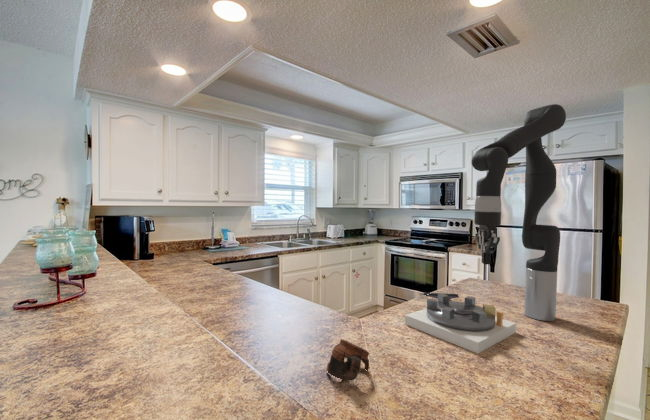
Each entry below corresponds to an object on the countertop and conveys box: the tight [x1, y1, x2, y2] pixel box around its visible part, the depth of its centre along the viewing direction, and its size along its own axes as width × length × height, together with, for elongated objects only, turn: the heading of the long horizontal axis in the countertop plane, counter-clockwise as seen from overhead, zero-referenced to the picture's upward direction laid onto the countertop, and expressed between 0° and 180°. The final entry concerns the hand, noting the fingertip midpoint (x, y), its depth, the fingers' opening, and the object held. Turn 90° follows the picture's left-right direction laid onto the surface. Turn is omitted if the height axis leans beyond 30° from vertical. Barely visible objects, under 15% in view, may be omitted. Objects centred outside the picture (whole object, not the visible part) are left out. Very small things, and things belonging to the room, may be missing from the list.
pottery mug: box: [326, 339, 370, 381], centre depth 70 cm, size 12×10×8 cm
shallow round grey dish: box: [426, 293, 497, 331], centre depth 98 cm, size 20×20×5 cm
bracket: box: [422, 292, 459, 301], centre depth 127 cm, size 14×15×3 cm
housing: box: [404, 307, 517, 354], centre depth 98 cm, size 24×24×7 cm
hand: (485, 263), depth 99 cm, fingers closed
